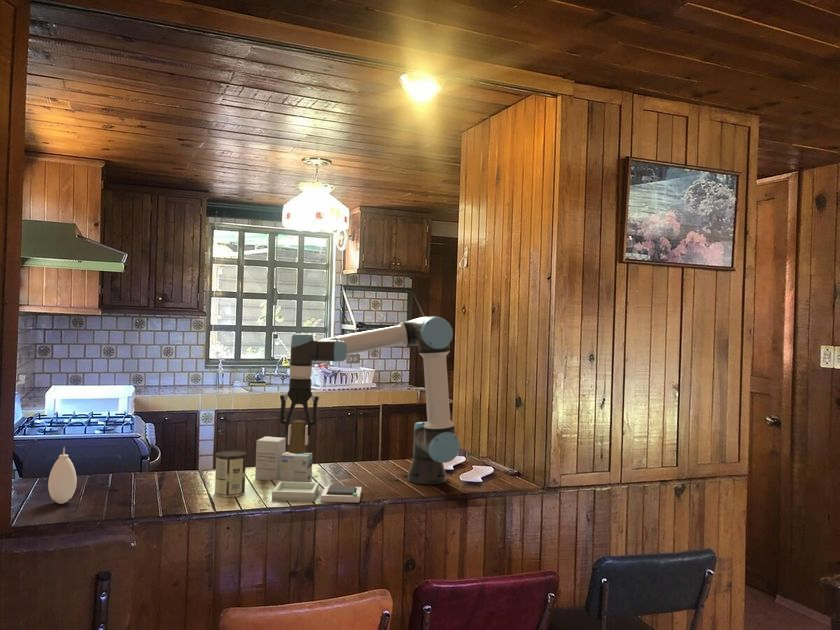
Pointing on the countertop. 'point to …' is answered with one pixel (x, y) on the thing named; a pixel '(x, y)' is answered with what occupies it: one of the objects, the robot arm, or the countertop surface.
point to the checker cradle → (341, 496)
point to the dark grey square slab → (341, 490)
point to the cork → (298, 437)
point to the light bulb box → (296, 467)
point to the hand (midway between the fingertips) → (297, 444)
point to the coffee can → (230, 473)
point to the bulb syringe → (62, 479)
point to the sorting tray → (295, 491)
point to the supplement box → (269, 457)
